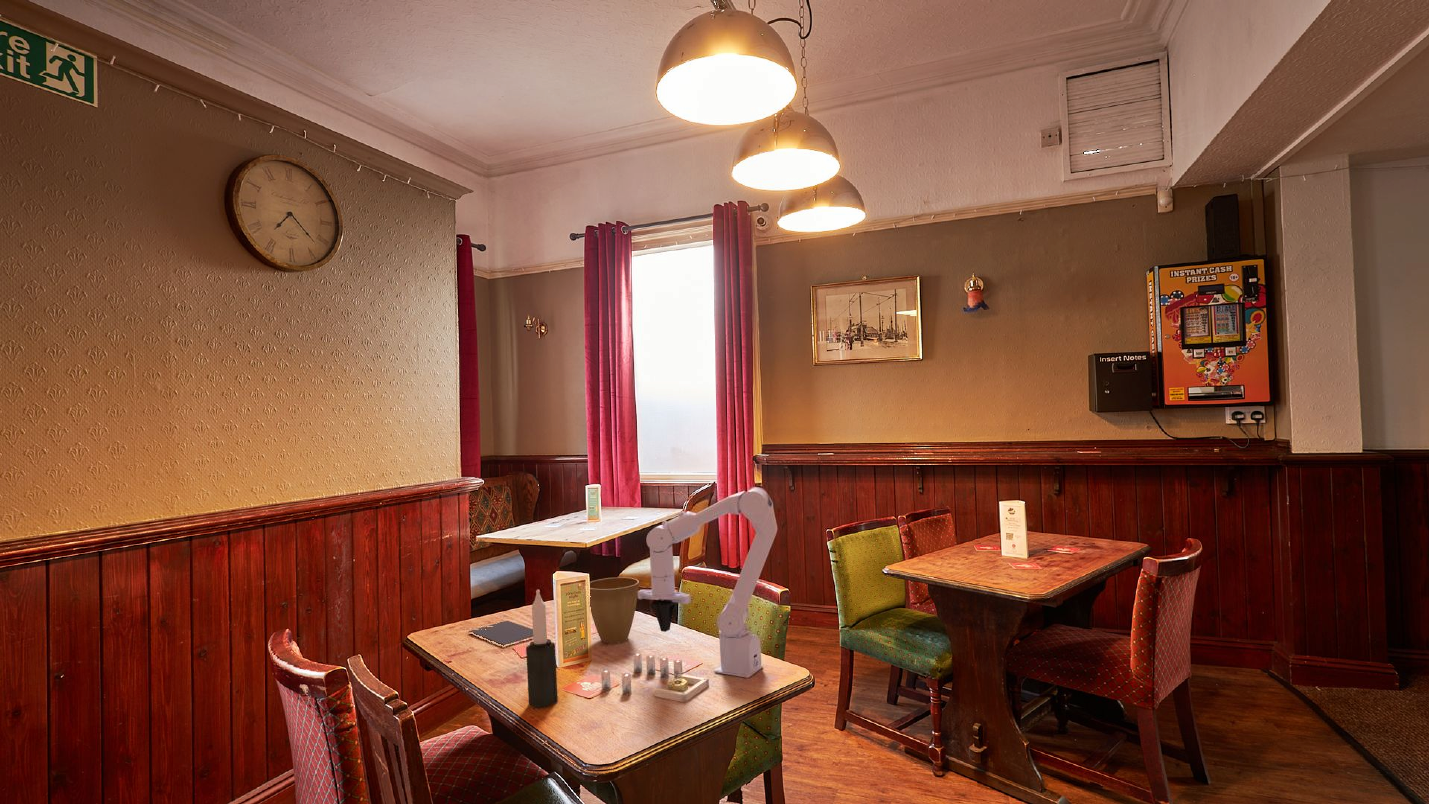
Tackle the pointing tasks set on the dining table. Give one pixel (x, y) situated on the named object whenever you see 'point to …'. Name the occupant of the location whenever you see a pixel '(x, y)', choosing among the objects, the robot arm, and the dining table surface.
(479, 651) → the dining table surface
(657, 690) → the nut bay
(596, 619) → the plant pot
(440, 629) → the dining table surface
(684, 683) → the brass nut
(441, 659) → the dining table surface
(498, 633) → the notebook
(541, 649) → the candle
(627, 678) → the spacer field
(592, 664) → the dining table surface
